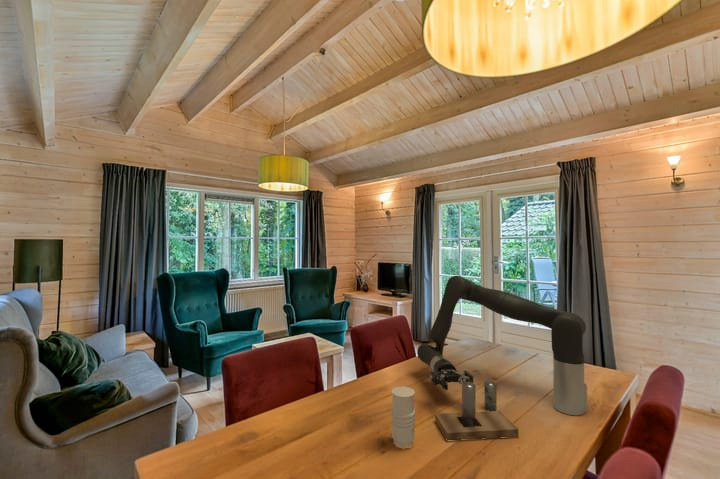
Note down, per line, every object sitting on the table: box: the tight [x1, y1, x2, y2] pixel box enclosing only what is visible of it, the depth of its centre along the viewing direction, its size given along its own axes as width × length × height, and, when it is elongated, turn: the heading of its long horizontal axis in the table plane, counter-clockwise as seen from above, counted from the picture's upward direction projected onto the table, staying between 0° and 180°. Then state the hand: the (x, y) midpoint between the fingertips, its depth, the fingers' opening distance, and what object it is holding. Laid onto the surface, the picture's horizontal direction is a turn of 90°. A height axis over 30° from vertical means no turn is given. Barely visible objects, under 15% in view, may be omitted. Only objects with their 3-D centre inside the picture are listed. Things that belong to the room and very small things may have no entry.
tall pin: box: [461, 382, 477, 427], centre depth 106 cm, size 4×4×14 cm
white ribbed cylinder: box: [390, 386, 416, 448], centre depth 99 cm, size 7×7×15 cm
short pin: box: [483, 380, 498, 411], centre depth 119 cm, size 4×4×9 cm
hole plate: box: [434, 410, 519, 441], centre depth 106 cm, size 22×11×2 cm, turn 95°
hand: (459, 386), depth 113 cm, fingers open, 8 cm apart
